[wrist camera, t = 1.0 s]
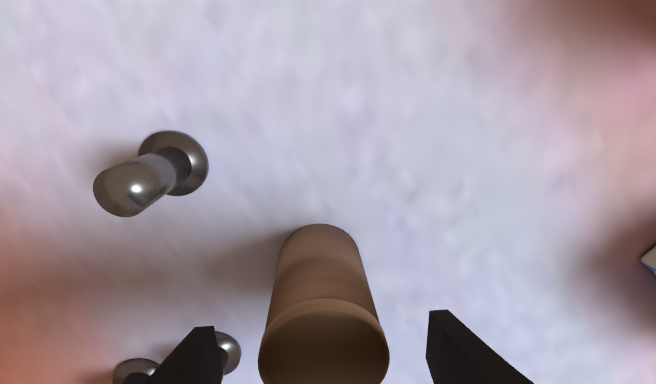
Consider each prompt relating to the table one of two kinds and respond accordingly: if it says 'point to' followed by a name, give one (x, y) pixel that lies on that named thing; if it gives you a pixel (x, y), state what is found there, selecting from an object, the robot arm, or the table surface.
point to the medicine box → (650, 260)
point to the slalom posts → (143, 190)
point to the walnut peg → (322, 314)
